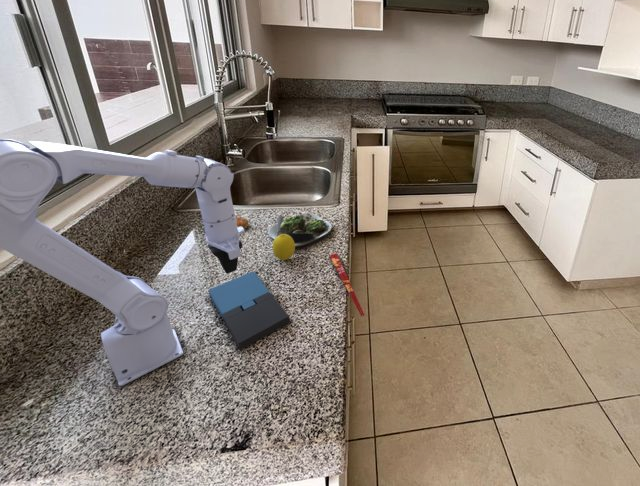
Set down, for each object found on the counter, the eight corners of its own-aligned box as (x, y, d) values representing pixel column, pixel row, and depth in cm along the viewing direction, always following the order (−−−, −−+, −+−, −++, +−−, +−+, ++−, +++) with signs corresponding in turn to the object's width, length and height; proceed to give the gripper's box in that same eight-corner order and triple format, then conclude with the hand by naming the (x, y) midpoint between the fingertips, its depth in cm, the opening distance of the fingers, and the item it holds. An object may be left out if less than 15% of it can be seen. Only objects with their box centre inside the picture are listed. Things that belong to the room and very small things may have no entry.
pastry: (250, 221, 110) (248, 210, 109) (246, 232, 104) (244, 221, 103) (218, 224, 108) (216, 213, 107) (212, 236, 102) (209, 225, 100)
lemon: (290, 251, 96) (286, 226, 93) (300, 259, 93) (297, 234, 90) (270, 259, 92) (266, 234, 89) (280, 269, 89) (277, 242, 86)
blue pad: (226, 325, 72) (224, 318, 71) (209, 295, 79) (208, 289, 79) (274, 301, 78) (273, 295, 77) (254, 276, 86) (253, 270, 85)
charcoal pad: (240, 350, 66) (238, 343, 65) (223, 320, 73) (221, 314, 72) (289, 322, 73) (288, 316, 72) (270, 297, 79) (269, 291, 79)
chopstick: (360, 318, 74) (359, 314, 74) (330, 257, 93) (329, 254, 93) (368, 315, 75) (368, 311, 75) (337, 255, 94) (336, 253, 94)
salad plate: (254, 230, 105) (251, 217, 103) (307, 211, 117) (305, 199, 116) (284, 258, 93) (281, 243, 91) (339, 233, 105) (338, 220, 103)
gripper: (252, 223, 68) (262, 278, 73) (228, 198, 77) (238, 248, 82) (212, 236, 63) (226, 294, 68) (192, 208, 73) (205, 261, 78)
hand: (230, 270), depth 75 cm, fingers closed
